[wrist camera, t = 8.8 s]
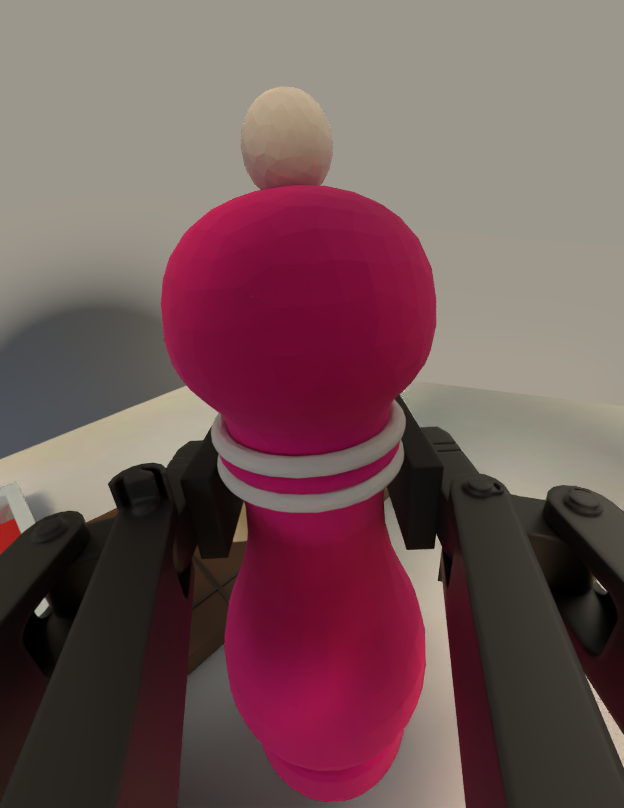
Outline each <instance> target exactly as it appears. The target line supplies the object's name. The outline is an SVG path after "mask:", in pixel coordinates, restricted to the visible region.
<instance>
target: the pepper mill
mask: <svg viewBox="0 0 624 808" xmlns="http://www.w3.org/2000/svg"><path fill="white" fill-rule="evenodd" d="M332 144H333V141H332V134H331V128H330V126H329V123H328V120H327V118H326V115H325V114H324V112H323V110H322V108H321V107H320V106H319V104H318V103H317V102H316V100H314V99H313V98H312V97H311V96H310V95H308V94H307V93H306V92H304V91H302V90H299V89H297V88H292V87H284V86H281V87H278V88H274V89H271V90H268V91H266V92H265V93H263V94H262V95H261V96H259V97H258V98H257V99H256V100H255V101H254V102H253V104H252V106H251V107H250V109H249V110H248V112H247V115H246V118H245V121H244V124H243V127H242V130H241V150H242V155H243V159H244V165H245V167H246V170H247V172H248V174H249V176H250V177H251V179H252V181H253V182H254V184H255V185H256V186H257V187H258V188H260V189H261V190H259V191H254V192H251V193H248V194H245V195H243V196H240V197H236V198H234V199H232V200H230V201H228V202H226V203H224V204H222V205H220V206H218V207H216V208H214V209H212V210H211V211H209V212H208V213H207V214H206V215H204V216H203V217H202V218H201V219H199V220H198V221H197V222H196V223H195V224H194V225H193V226H191V227H190V228H189V229H188V230H187V232H186V233H185V234H184V235H183V236H182V238H181V240H180V241H179V243H178V245H177V246H176V248H175V249H174V251H173V253H172V255H171V256H170V258H169V261H168V264H167V267H166V271H165V274H164V278H163V285H162V297H161V310H162V321H163V332H164V341H165V344H166V348H167V350H168V354H169V357H170V359H171V363H172V365H173V367H174V368H175V370H176V371H177V373H178V374H179V376H180V378H181V379H182V380H183V381H184V383H185V384H186V385H187V386H188V388H189V389H190V390H191V391H192V392H194V393H195V394H196V395H197V396H198V397H200V398H201V399H202V400H203V401H204V402H206V403H207V404H208V405H210V406H211V407H212V408H214V409H215V410H216V411H218V412H219V414H218V415H217V417H216V418H215V420H214V423H213V425H212V429H211V436H212V443H213V445H214V447H215V449H216V450H217V452H218V453H219V455H218V462H217V467H218V472H219V475H220V477H221V479H222V480H223V482H224V484H225V485H226V486H227V487H228V488H229V490H230V491H231V492H232V493H234V494H235V495H237V496H238V497H240V498H241V499H243V500H244V503H245V506H246V517H247V528H248V536H247V544H246V550H245V554H244V558H243V562H242V565H241V568H240V571H239V573H238V576H237V579H236V582H235V585H234V587H233V590H232V593H231V597H230V600H229V607H228V614H227V622H226V629H225V656H226V664H227V671H228V677H229V683H230V689H231V692H232V695H233V698H234V701H235V704H236V707H237V708H238V710H239V712H240V714H241V716H242V717H243V719H244V721H245V723H246V725H247V726H248V728H249V729H250V730H251V732H252V733H253V734H254V735H255V736H256V738H257V739H258V740H259V741H260V742H261V745H262V747H263V749H264V751H265V754H266V756H267V758H268V760H269V762H270V763H271V765H272V767H273V768H274V770H275V771H276V773H277V774H278V775H279V776H280V777H281V778H282V780H283V781H284V782H285V783H287V784H288V785H289V786H290V787H291V788H293V789H294V790H296V791H298V792H300V793H301V794H303V795H305V796H307V797H309V798H311V799H315V800H319V801H324V802H329V801H346V800H349V799H352V798H355V797H357V796H359V795H361V794H363V793H365V792H366V791H368V790H369V789H370V788H372V787H373V786H375V785H376V784H377V783H378V782H379V781H380V780H381V778H382V777H383V776H384V775H385V773H386V772H387V771H388V770H389V768H390V766H391V764H392V763H393V761H394V759H395V757H396V755H397V752H398V749H399V746H400V743H401V740H402V736H403V732H404V728H405V726H406V725H407V724H408V722H409V720H410V718H411V716H412V714H413V712H414V710H415V708H416V706H417V703H418V700H419V697H420V694H421V691H422V688H423V681H424V674H425V666H426V658H425V628H424V624H423V619H422V615H421V611H420V607H419V603H418V600H417V596H416V593H415V590H414V588H413V586H412V583H411V581H410V579H409V577H408V575H407V573H406V571H405V570H404V568H403V566H402V564H401V563H400V561H399V559H398V557H397V555H396V553H395V551H394V549H393V547H392V545H391V542H390V538H389V534H388V531H387V527H386V524H385V514H384V500H383V498H384V490H385V487H386V486H387V485H388V484H390V483H391V482H392V481H393V479H394V478H395V476H396V475H397V474H398V472H399V471H400V468H401V466H402V463H403V460H404V449H403V443H402V441H401V438H402V436H403V433H404V430H405V424H406V418H405V415H404V412H403V409H402V408H401V407H400V405H399V404H398V403H397V402H396V401H395V398H396V397H397V396H398V395H399V394H400V393H401V392H402V391H403V390H404V389H405V388H406V387H407V386H409V385H410V384H411V383H412V381H413V380H414V379H415V377H416V376H417V374H418V373H419V371H420V370H421V369H422V367H423V366H424V364H425V363H426V360H427V357H428V355H429V353H430V350H431V346H432V342H433V337H434V332H435V328H436V295H435V288H434V281H433V274H432V268H431V266H430V263H429V261H428V259H427V257H426V254H425V252H424V250H423V248H422V245H421V243H420V241H419V239H418V237H417V236H416V235H415V234H414V233H413V232H412V231H411V229H410V228H409V227H408V226H407V225H406V224H405V223H404V221H403V220H402V219H401V218H400V217H399V216H397V215H396V214H395V213H393V212H392V211H390V210H389V209H387V208H386V207H385V206H383V205H381V204H379V203H378V202H376V201H373V200H371V199H369V198H366V197H364V196H362V195H359V194H357V193H355V192H351V191H346V190H342V189H337V188H332V187H328V186H320V185H321V184H322V183H323V181H324V179H325V177H326V175H327V173H328V171H329V169H330V164H331V159H332V149H333V145H332Z"/></svg>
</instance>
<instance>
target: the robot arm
mask: <svg viewBox="0 0 624 808" xmlns="http://www.w3.org/2000/svg"><path fill="white" fill-rule="evenodd" d="M395 401H396V402H397V403H398V404H399V405H400V407H401V408H402V409H403V412H404V415H405V418H406V424H405V430H404V433H403V436H402V438H401V441H402V443H403V449H404V460H403V463H402V466H401V468H400V471H399V472H398V474H397V475H396V476H395V478H394V479H393V481H392V482H391V483H390V484H388V485H387V489H388V492H389V496H390V499H391V502H392V505H393V508H394V511H395V514H396V518H397V521H398V524H399V527H400V530H401V533H402V536H403V540H404V543H405V546H406V549H407V550H417V549H434V547H435V539H436V534H437V536H438V539H439V541H440V543H441V545H442V552H441V560H440V568H439V575H438V581H441V582H442V581H443V591H444V600H445V610H446V620H447V629H448V639H449V649H450V658H451V668H452V678H453V687H454V697H455V707H456V716H457V726H458V736H459V745H460V755H461V765H462V774H463V784H464V794H465V803H466V808H624V767H623V765H622V763H621V760H620V758H619V755H618V753H617V751H616V748H615V746H614V743H613V741H612V739H611V736H610V734H609V731H608V729H607V726H606V724H605V722H604V719H603V717H602V714H601V712H600V710H599V707H598V705H597V702H596V700H595V698H594V695H593V693H592V690H591V688H590V686H589V683H588V681H587V678H588V679H589V681H590V683H591V684H592V686H593V687H594V689H595V690H596V692H597V694H598V695H599V697H600V698H601V700H602V701H603V703H604V705H605V706H606V708H607V709H608V711H609V712H610V714H611V716H612V717H613V719H614V720H615V722H616V723H617V725H618V727H619V728H620V730H621V731H622V733H623V734H624V511H622V510H621V509H620V508H619V507H618V506H616V505H615V504H614V503H613V502H611V501H610V500H608V499H607V498H605V497H604V496H602V495H600V494H598V493H595V492H593V491H591V490H589V489H585V488H581V487H577V486H567V485H561V486H556V487H553V488H552V489H550V490H549V491H548V493H547V497H546V500H540V499H534V498H528V497H521V496H517V495H512V494H510V493H509V491H508V489H507V488H506V487H505V485H504V484H502V483H501V482H499V481H498V480H497V479H495V478H492V477H490V476H487V475H485V474H480V473H479V472H478V471H477V470H476V468H475V467H474V466H473V464H472V463H471V462H470V460H469V459H468V458H467V456H466V455H465V454H464V453H463V451H461V449H460V447H459V446H458V445H457V444H456V442H455V441H454V439H453V438H452V437H451V435H450V434H449V433H447V432H446V431H444V430H442V429H441V428H439V427H419V426H418V424H417V422H416V421H415V419H414V417H413V416H412V414H411V413H410V411H409V409H408V408H407V406H406V404H405V403H404V401H403V400H402V398H401V396H400V395H398V396H397V397H396V398H395ZM211 429H212V426H211V428H210V430H209V431H208V433H207V435H206V437H205V438H204V440H201V441H189V442H188V443H187V444H185V445H184V446H183V447H181V448H180V449H179V450H178V451H177V452H176V454H175V455H174V457H173V460H171V461H170V463H169V464H168V466H167V468H165V467H164V466H163V465H161V464H157V463H146V464H140V465H137V466H133V467H130V468H128V469H126V470H124V471H122V472H120V473H119V474H118V475H116V476H115V477H113V478H112V480H111V481H110V482H109V483H108V485H109V488H110V490H111V493H112V496H113V498H114V501H115V503H116V506H117V508H118V513H117V516H114V517H111V518H107V519H103V520H100V521H96V522H92V523H88V524H86V522H85V520H84V517H83V515H82V514H80V513H79V512H76V511H66V512H60V513H56V514H52V515H50V516H47V517H45V518H43V519H42V520H40V521H38V522H36V523H34V524H33V525H32V526H30V527H29V528H28V529H27V530H25V531H24V532H23V533H22V534H21V535H20V536H19V537H18V538H17V539H16V540H15V541H14V542H13V543H12V544H10V545H9V546H8V547H7V548H6V549H5V550H4V551H3V552H2V553H1V554H0V808H177V800H178V787H179V774H180V761H181V748H182V736H183V723H184V710H185V697H186V684H187V671H188V658H189V645H190V632H191V619H192V606H193V594H194V581H195V568H194V563H193V560H192V557H193V555H194V552H195V550H196V547H197V545H198V548H199V552H200V556H201V559H215V558H228V556H229V553H230V549H231V546H232V542H233V538H234V535H235V531H236V528H237V524H238V521H239V517H240V513H241V510H242V506H243V503H244V500H243V499H241V498H240V497H238V496H237V495H235V494H234V493H232V492H231V491H230V490H229V488H228V487H227V486H226V485H225V484H224V482H223V480H222V479H221V477H220V475H219V472H218V467H217V462H218V455H219V453H218V452H217V450H216V449H215V447H214V445H213V443H212V436H211ZM596 579H597V580H598V581H599V582H600V584H601V585H602V586H603V587H604V588H605V589H606V591H607V592H606V591H605V590H604V589H602V588H601V586H600V585H599V584H598V583H597V582H596ZM44 598H45V599H46V601H47V602H48V604H49V606H48V607H47V608H46V610H45V611H44V612H43V613H42V614H41V615H40V616H39V617H38V616H37V615H36V613H35V612H34V611H35V610H36V608H37V607H38V606H39V604H40V603H41V602H42V601H43V599H44ZM585 675H586V676H587V678H586V676H585Z"/></svg>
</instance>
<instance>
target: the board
mask: <svg viewBox="0 0 624 808" xmlns="http://www.w3.org/2000/svg"><path fill="white" fill-rule="evenodd" d="M388 497H389V492H388V489H387V486H386V487H385V490H384V498H383V500H384V501H385V500H386V499H387V498H388ZM117 513H118V508H116V509H114V510H112V511H109V512H107V513H105V514H103V515H101V516H99V517H97V518H95V519H93V520H91V521H89V522H87V523H86V524H88V523H92V522H96V521H100V520H103V519H107V518H111V517H114V516H117ZM247 536H248V528H247V517H246V506H245V503H243V506H242V510H241V513H240V517H239V521H238V524H237V528H236V531H235V535H234V538H233V542H232V546H231V549H230V553H229V556H228V558H215V559H201V556H200V552H199V548H198V545H197V547H196V550H195V552H194V555H193V557H192V560H193V563H194V568H195V581H194V594H193V606H192V619H191V632H190V645H189V658H188V671H187V675H189V674H190V673H191V672H192V671H193V670H194V669H195V668H196V667H198V666H199V665H200V664H201V663H202V662H203V661H204V660H205V659H207V658H208V657H209V656H210V655H211V654H212V653H213V652H215V651H216V650H217V649H218V648H219V647H220V646H221V645H222V644H224V643H225V629H226V622H227V614H228V607H229V600H230V597H231V593H232V590H233V587H234V585H235V582H236V579H237V576H238V573H239V571H240V568H241V565H242V562H243V558H244V554H245V550H246V544H247Z"/></svg>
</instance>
